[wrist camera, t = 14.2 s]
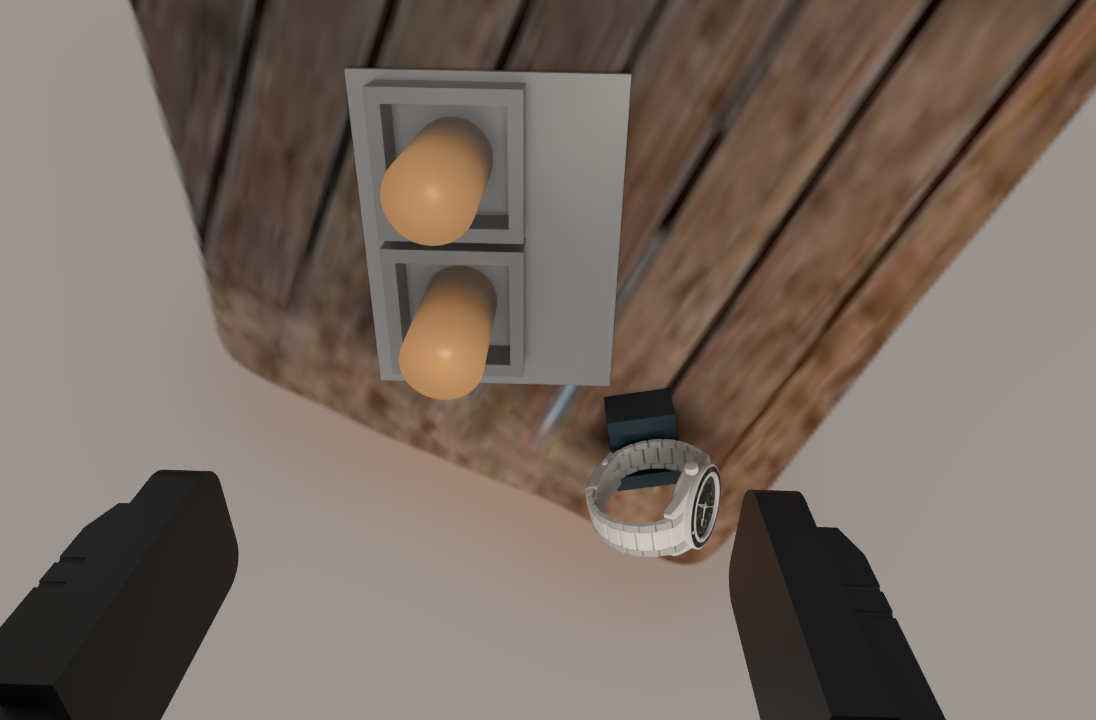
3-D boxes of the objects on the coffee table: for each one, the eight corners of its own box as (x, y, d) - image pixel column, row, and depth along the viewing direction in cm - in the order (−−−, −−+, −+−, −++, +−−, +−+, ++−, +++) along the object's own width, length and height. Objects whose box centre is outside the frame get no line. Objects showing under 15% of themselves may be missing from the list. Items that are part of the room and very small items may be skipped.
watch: (704, 450, 49) (738, 568, 39) (590, 465, 50) (596, 584, 40) (698, 382, 46) (733, 491, 36) (578, 399, 47) (581, 510, 37)
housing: (347, 67, 37) (291, 92, 30) (630, 73, 37) (646, 99, 29) (383, 375, 46) (347, 453, 39) (609, 381, 46) (617, 461, 39)
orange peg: (423, 264, 42) (394, 324, 35) (496, 266, 42) (482, 326, 35) (428, 330, 44) (402, 398, 37) (498, 331, 44) (485, 400, 37)
